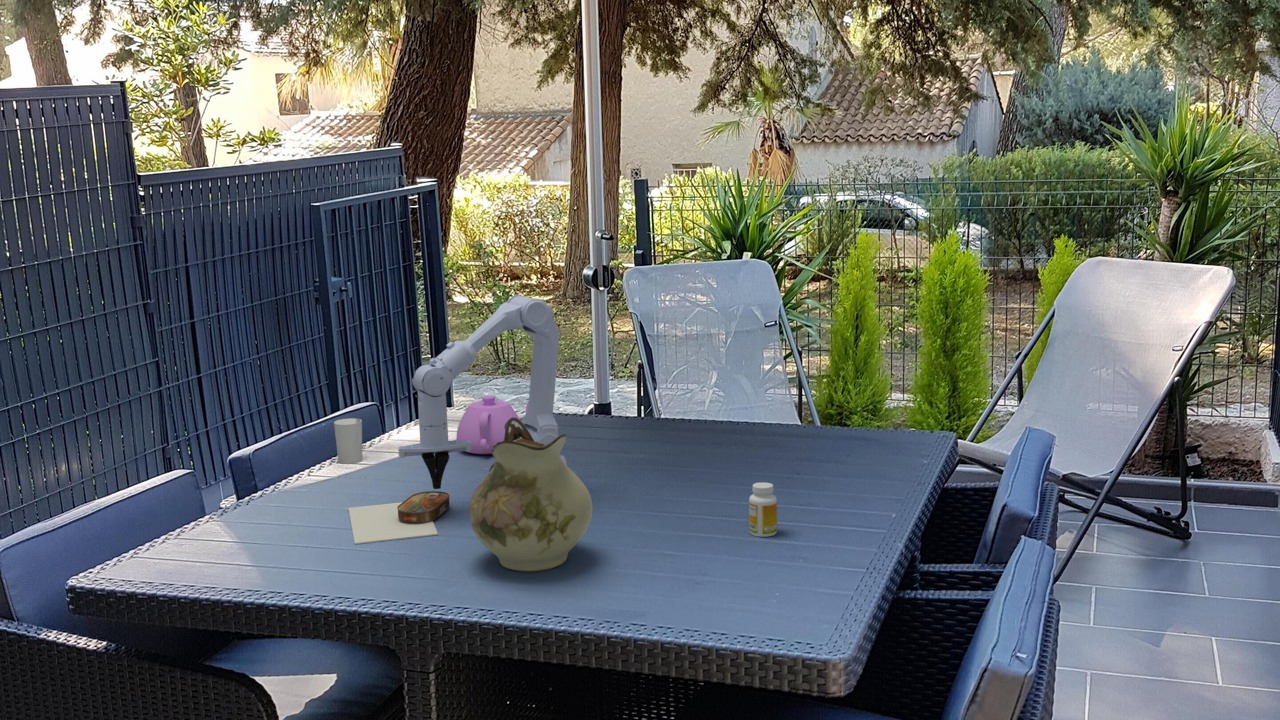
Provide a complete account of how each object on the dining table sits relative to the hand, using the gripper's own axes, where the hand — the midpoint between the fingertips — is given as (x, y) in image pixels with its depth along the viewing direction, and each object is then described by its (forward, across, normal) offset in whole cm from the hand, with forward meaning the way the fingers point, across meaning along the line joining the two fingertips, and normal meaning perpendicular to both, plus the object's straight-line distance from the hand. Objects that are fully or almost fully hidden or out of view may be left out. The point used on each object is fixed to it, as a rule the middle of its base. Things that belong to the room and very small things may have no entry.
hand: (436, 487), depth 240 cm
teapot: (+6, -22, -51) cm, 56 cm away
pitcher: (+6, -13, +32) cm, 35 cm away
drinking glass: (+6, +15, -53) cm, 55 cm away
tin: (+5, -1, 0) cm, 5 cm away
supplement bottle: (+6, -59, +33) cm, 68 cm away
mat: (+6, +10, 0) cm, 11 cm away
